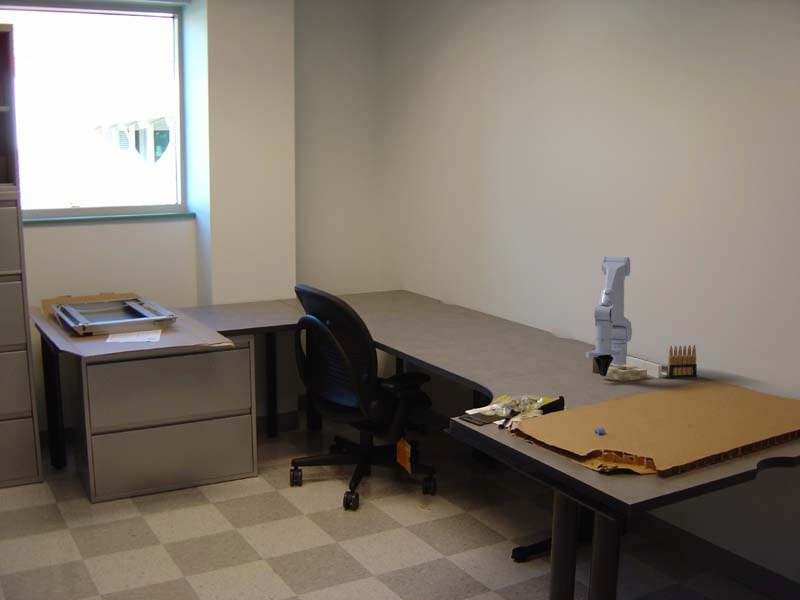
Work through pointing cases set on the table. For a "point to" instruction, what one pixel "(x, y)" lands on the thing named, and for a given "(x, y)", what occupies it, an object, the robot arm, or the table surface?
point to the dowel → (595, 365)
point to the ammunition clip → (682, 363)
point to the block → (626, 372)
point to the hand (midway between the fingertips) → (603, 375)
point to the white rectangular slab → (647, 367)
